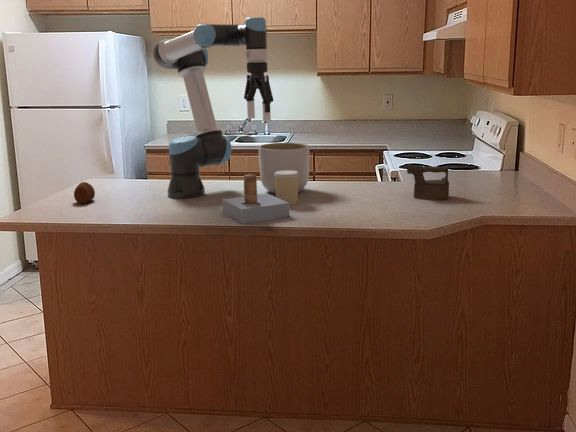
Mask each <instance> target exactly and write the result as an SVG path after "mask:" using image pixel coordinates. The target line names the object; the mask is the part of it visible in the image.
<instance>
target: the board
mask: <svg viewBox="0 0 576 432" xmlns="http://www.w3.org/2000/svg"><path fill="white" fill-rule="evenodd" d="M221 203H222V205H221V206H222V207H221V208H222V214H223V215H226V216H228V217H229V218H231V219H234V220H235V221H237V222H239V223H240V224H243V225H244V224H250V223H257V222H265V221H270V220H276V218H277V219H283V218H282V217H284V218H289V217H288V216H290V217H291V215H290V205H289V202H286V201H284V200H281V199H279V198H277V197H276V196H274V195H272V194H270V193H260V194H257V203H258V204H257V205H254V206H245V204H244V203H245V198H244V196H239V197H230V198H224V199H223V198H222V199H221Z"/></svg>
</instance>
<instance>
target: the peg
mask: <svg viewBox="0 0 576 432" xmlns="http://www.w3.org/2000/svg"><path fill="white" fill-rule="evenodd" d="M257 185H258V184H257V175H256V174H245V175H243V191H244V192H243V193H244V194H243V195H244V196H243V197H244V198H245V203H244V204H245V206H254V205H257V204H258V203H257V195H258V188H257V187H258V186H257Z"/></svg>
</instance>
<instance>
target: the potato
mask: <svg viewBox="0 0 576 432" xmlns="http://www.w3.org/2000/svg"><path fill="white" fill-rule="evenodd" d="M73 196H74V197H73V198H74V200H75V201H76V203H78V204H80V205H84V204H87V203H88V202H91V201H92V200H94V198H95V197H96V191H95V188H94V187H93V185H92V184H90V183H88V182H87V181H85V182H84V181H82V182H80V183H79V184H77V186H76V187H75V189H74V190H73Z"/></svg>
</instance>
